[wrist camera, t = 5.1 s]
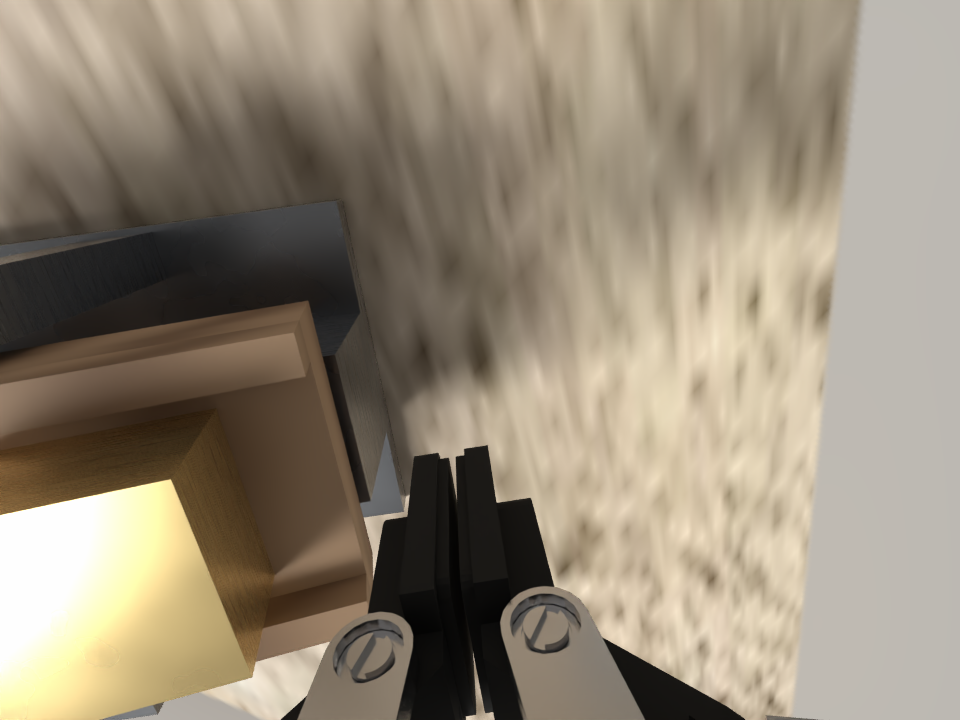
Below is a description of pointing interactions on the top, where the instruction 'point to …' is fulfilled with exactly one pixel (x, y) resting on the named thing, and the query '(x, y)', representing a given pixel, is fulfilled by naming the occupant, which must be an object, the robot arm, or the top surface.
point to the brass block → (126, 570)
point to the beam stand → (216, 307)
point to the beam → (249, 430)
